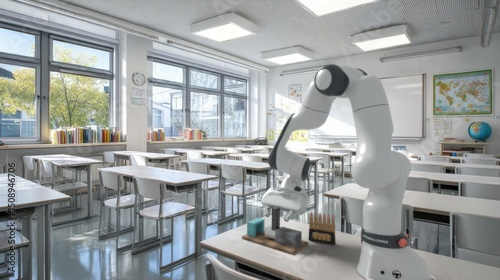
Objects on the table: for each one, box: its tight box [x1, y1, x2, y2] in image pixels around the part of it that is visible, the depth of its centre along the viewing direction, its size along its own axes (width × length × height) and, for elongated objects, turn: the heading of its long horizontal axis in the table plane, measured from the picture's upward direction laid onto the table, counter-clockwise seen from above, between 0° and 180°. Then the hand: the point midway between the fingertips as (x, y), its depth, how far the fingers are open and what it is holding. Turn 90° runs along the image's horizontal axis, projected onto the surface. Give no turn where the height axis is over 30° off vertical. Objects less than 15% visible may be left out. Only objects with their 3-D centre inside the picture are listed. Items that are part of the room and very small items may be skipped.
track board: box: [241, 226, 309, 255], centre depth 120 cm, size 24×12×6 cm, turn 50°
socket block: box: [246, 217, 265, 237], centre depth 126 cm, size 4×7×6 cm, turn 141°
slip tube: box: [264, 207, 281, 239], centre depth 117 cm, size 14×3×12 cm, turn 50°
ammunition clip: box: [308, 211, 337, 246], centre depth 119 cm, size 11×2×12 cm, turn 64°
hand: (275, 218), depth 119 cm, fingers open, 8 cm apart
